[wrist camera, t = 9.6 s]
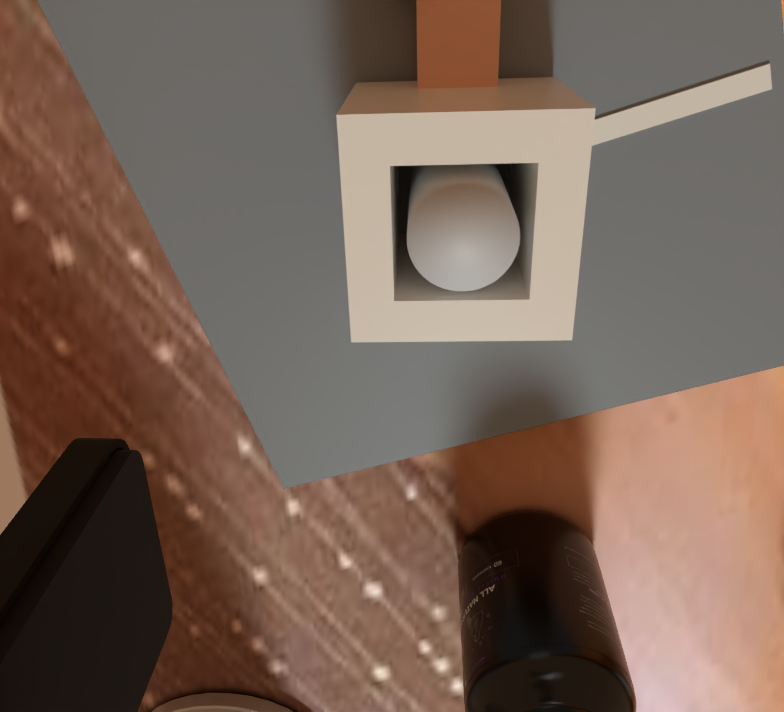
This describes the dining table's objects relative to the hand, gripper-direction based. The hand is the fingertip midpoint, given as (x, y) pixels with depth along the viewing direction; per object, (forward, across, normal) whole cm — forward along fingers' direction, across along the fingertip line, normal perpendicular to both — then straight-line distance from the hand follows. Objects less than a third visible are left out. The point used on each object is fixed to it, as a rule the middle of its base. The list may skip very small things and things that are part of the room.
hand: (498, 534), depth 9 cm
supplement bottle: (+20, -4, +19) cm, 28 cm away
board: (+20, 0, 0) cm, 20 cm away
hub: (+17, 0, -3) cm, 17 cm away
